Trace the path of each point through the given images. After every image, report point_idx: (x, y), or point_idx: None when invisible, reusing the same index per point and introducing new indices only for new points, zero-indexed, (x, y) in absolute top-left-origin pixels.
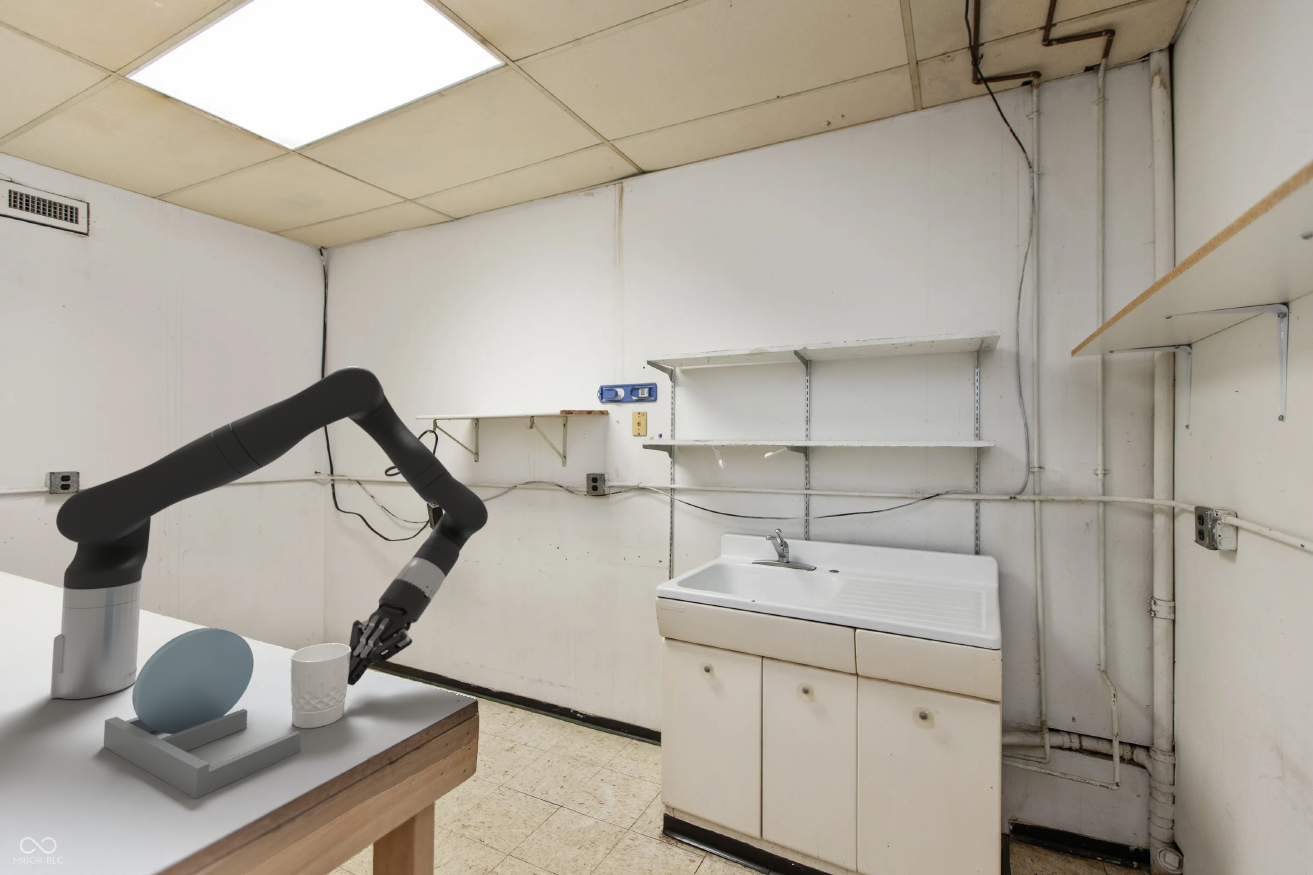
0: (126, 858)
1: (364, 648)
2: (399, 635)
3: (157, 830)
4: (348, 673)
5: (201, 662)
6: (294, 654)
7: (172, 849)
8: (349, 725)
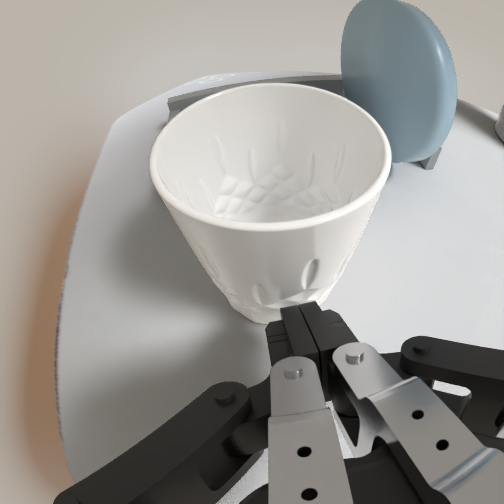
0: (145, 104)
1: (347, 394)
2: (74, 500)
3: (158, 111)
4: (219, 275)
5: (379, 47)
6: (323, 95)
7: (125, 119)
8: (181, 302)
